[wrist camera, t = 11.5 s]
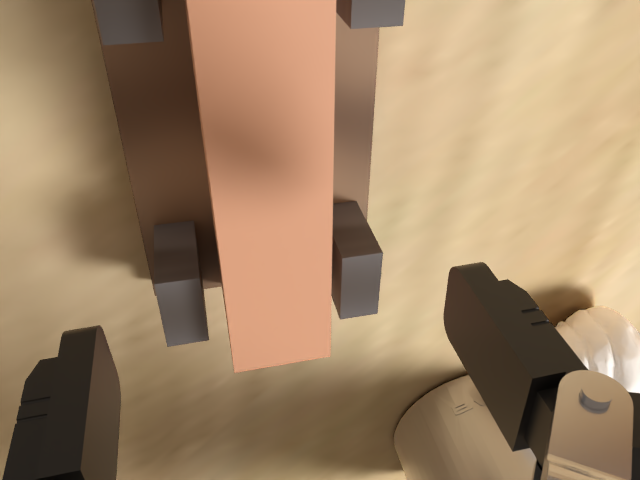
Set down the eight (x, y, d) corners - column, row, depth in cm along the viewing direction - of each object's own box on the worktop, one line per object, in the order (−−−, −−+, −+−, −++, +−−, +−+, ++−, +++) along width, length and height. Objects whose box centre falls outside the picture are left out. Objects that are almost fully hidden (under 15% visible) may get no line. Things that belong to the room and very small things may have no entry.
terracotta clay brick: (293, -187, 16) (339, -182, 12) (302, 271, 25) (330, 356, 22) (160, -186, 15) (163, -181, 11) (221, 282, 25) (234, 372, 21)
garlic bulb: (505, 303, 31) (561, 382, 27) (606, 284, 32) (675, 358, 28) (489, 371, 35) (537, 451, 30) (582, 352, 36) (640, 428, 31)
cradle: (357, 252, 27) (388, 320, 23) (154, 280, 25) (155, 358, 22) (379, -138, 18) (435, -122, 14) (67, -134, 16) (44, -115, 13)
